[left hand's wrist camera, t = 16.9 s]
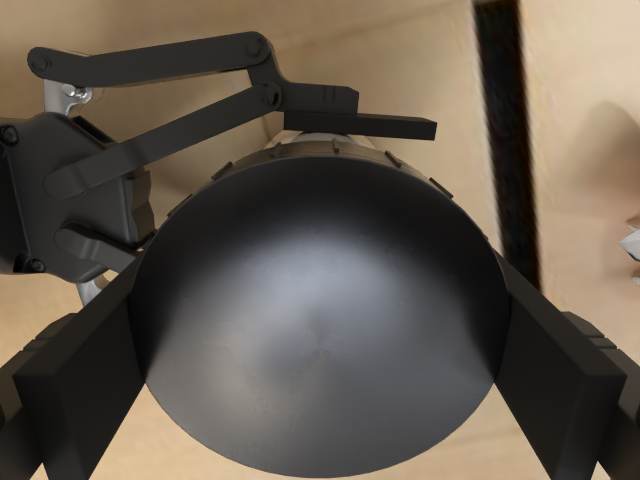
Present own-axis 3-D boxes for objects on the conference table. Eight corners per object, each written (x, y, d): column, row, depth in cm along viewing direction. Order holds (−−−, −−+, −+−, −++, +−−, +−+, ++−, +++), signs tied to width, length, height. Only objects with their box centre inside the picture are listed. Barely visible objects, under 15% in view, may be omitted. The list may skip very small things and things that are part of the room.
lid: (257, 451, 15) (246, 517, 12) (95, 228, 11) (40, 263, 9) (514, 359, 13) (553, 415, 11) (410, 71, 10) (436, 67, 8)
